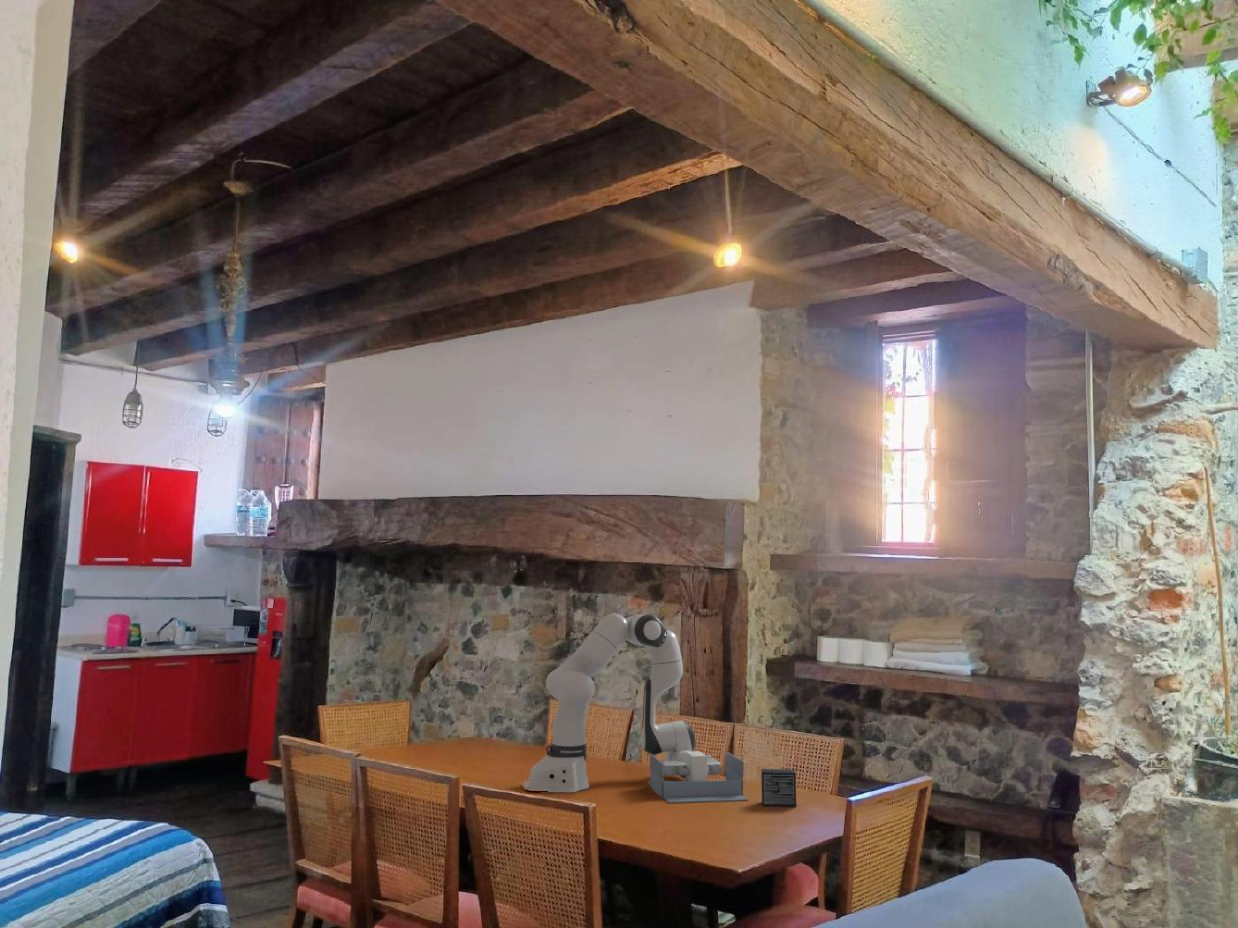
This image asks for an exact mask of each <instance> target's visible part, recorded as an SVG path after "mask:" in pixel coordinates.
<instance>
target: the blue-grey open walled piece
mask: <svg viewBox="0 0 1238 928" xmlns="http://www.w3.org/2000/svg"><path fill="white" fill-rule="evenodd" d="M725 754H726V755H725V756H726V762H725V763H726V766H725V779H720V780H715V779H716V778H715V779H714V778H712V779H711V778H710V779H709V778H707V780H713V781H685V779H683V780H682V779H679V780H677V779H676V780H665V779H664V775H663V763H662V762H663V761H661V760H660V759H659V758H657V757H656V756H655V755H652V754H649V770H650V771H649V772H650V773H649V774H650V775H649V776H650V777H649V778H650V780H648V781H646V783H647V784H648V785H649V787H650V789H651V788H652V789H651V790H652V791H653V792H655V794H657V795H658V796H659V798H660V799H664V800H665V801H666V802H667V803H668V804H690V803H692V804H693V803H714V802H715V803H718V802H721V803H722V802H746V800H748V801H749V799H748V798H747V797H745V796H744V760H742V759H740V758H739V757H737V756H736V755H734V754H732V753H730V752H728V751H726V753H725Z"/></svg>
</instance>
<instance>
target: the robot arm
mask: <svg viewBox="0 0 1238 928" xmlns="http://www.w3.org/2000/svg"><path fill="white" fill-rule="evenodd" d="M624 643H627V644H629V645H633V646H634V645H635V646H640V647H642V646H644V647H646V648H647V649H648V652H649V655H650V662H651V672H650V675H649V678H647V679H646V680H645V682H644V686H643V698H642V699H643V700H642V701H643V703H642V705H643V706H642V726H641V736H640V744H641V747H642V749H643V751H644V752H646V753H647V754H649V755H650V754H652V755H653V756H655V755H659V754H662V753H665V761H661V762H662V763H663V776H667V777H669V776H670V777H671V776H674V777H675V776H679V777H680V778H681V779H683V780H685V776H686V775H690V773H689V772H690V771H689V769H685V767H686V764H685V757H686V752H687V751H695V747H696V737H695V734H694V733H695V732H694V731H693V727H692V725H690V724H689V723H688V722H686V721H685V720H683V719H682V720H676V721H670V722H666V723H659V724H656V703H657V700H658V698H659V697H660V696H661V695H662V694H663V693H664V692H666V691H668V690H669V689H671V688H673V687H674V686H675V685H677V684H678V683H679V681H680V680H681V678H683V675H684V667H683V665H684V664H683V658H682V657H683V656H682V653H681V647H680V644H679V640H678V638H677V635H676V634H675V633H674V632H673V631H671V630H668V629H666V628H665V626H664V624H663V622H662V621H661V620H660V619H659V618H658V617H657V616H655V615H652V614H644V613H639V614H630V615H627V616H625V617H624V616H623V615H621V614H618V613H616V612H613V613H609V614H608V615H606V616H605V617H604V618H603V619H602V620H601V621H600V622H598V624H596V626H595V627H594V628H593V629H592V630H591V632H590V633H589V635H587V637H586V638H585V639H584V641H583V642H582V643H581V645H580V646H579V647H578V649H576V651H574V652H573V654H571V655H570V656H569V657H568V658H566V660H564V661H563V662H562V663H561V664H560V665H559V666H558V667H557V668H555V669H554V670H552V671H551V672H550V673H548V675H547V677H546V680H545V687H546V690H547V691H548V693H549V694H550V695H551V696H552V697H553V698H554V699H556V700H558V705H557V711H556V714H555V717H554V718H553V721H552V743H550V744H549V743H545V744H544V746H543V748H544V750H546V755H545V756H544V757H543V758H542V759H541V760H539V761H538V762H536V763H535V764H534V765H533V766H532V767H531V770H530V772H529V778H528V780H526V781H524V782H523V783H522V788H523V787H524V788H528V789H530V790H543V791H548V792H547V793H569V794H570V793H576V792H579V791H581V790H582V791H583V790H586V789H588V788H590V783H589V779H588V778H589V777H588V775H587V774H588V773H587V764H586V763H587V757H588V754H587V753H588V750H587V749H588V748H587V744H586V722H587V716H588V711H589V706H590V704H591V703H590V702H591V700H592V699H593V697H594V695H595V692H596V686H595V682H594V680H593V679H592V678H593V677H594V676H595V675H597V674H598V673H600V672H601V671H602V670H603V669H604V668H605V667H606V666H607V665H608V663H609V662H610V660H611V659H612V658H613V657H614V655H615V654H616V653H617V651H618V650H619V648H620V647H621V646H622V645H623V644H624ZM705 755H706V756H707V776H710V775H711V776H712V775H714V776H717V775H719V776H720V775H721V774H722V763H721V762H720V761H718V760H717V759H715V758H713V757H712V755H710V754H705Z"/></svg>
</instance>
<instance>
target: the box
mask: <svg viewBox="0 0 1238 928" xmlns="http://www.w3.org/2000/svg"><path fill="white" fill-rule="evenodd" d="M706 755H707V754H704V753H703V752H702V751H700V750H697V751H696V750H693V751H687V752H686V757H685V764H686V767H685V769H689V771H690V772H689V773H690V775H686V776H685V779H684V780H685V781H707V779H708V775H707V756H706Z"/></svg>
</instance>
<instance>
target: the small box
mask: <svg viewBox="0 0 1238 928" xmlns="http://www.w3.org/2000/svg"><path fill="white" fill-rule="evenodd" d="M760 775H761V776H760V777H761V778H760V780H761V805H762V807H777V806H780V807H785V808H796V807H797V806H798V805H797V783H796V782H797V779H796V775H797V774H796V771H795V769H790V768H789V769H782V768H781V769H780V768H779V769H778V768H761V774H760ZM780 807H779V808H780Z"/></svg>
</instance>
